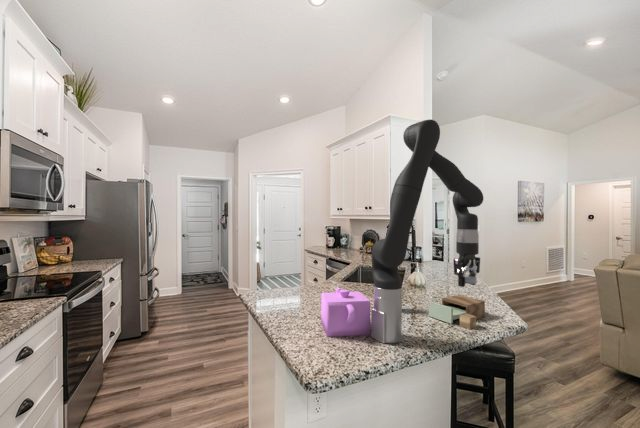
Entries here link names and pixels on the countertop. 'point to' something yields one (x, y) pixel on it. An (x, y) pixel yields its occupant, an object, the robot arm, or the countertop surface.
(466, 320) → the oak block
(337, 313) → the teapot
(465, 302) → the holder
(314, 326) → the countertop surface
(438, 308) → the tray
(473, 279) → the grey round dome
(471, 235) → the robot arm
